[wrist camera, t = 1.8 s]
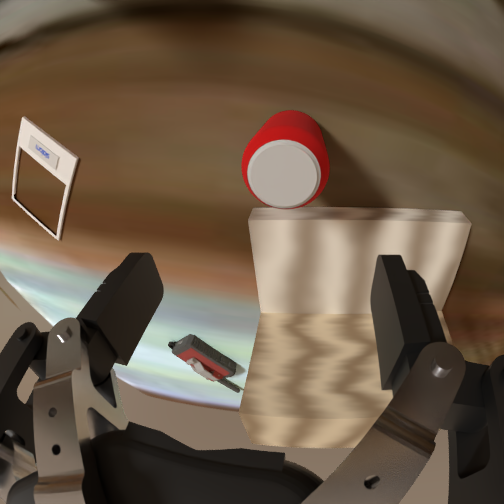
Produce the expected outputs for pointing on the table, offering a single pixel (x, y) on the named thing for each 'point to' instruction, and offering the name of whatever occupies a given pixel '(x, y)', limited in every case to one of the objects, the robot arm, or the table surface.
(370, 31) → the table surface
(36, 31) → the table surface
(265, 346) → the counter stand
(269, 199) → the beverage can
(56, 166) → the photo frame
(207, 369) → the walkie-talkie
